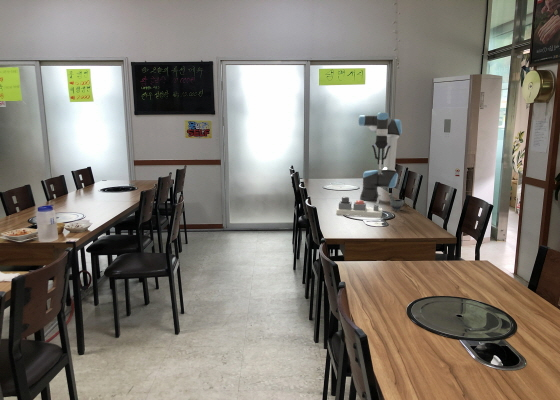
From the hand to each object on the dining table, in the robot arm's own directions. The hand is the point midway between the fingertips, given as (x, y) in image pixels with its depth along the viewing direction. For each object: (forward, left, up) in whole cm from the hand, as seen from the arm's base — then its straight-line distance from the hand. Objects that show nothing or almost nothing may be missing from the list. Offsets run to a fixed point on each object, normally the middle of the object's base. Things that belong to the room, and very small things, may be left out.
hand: (380, 169), depth 318 cm
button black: (+15, -22, -24) cm, 36 cm away
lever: (+15, -1, -25) cm, 29 cm away
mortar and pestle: (-4, +12, -30) cm, 32 cm away
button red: (+15, -12, -26) cm, 32 cm away
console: (+15, -12, -29) cm, 35 cm away
